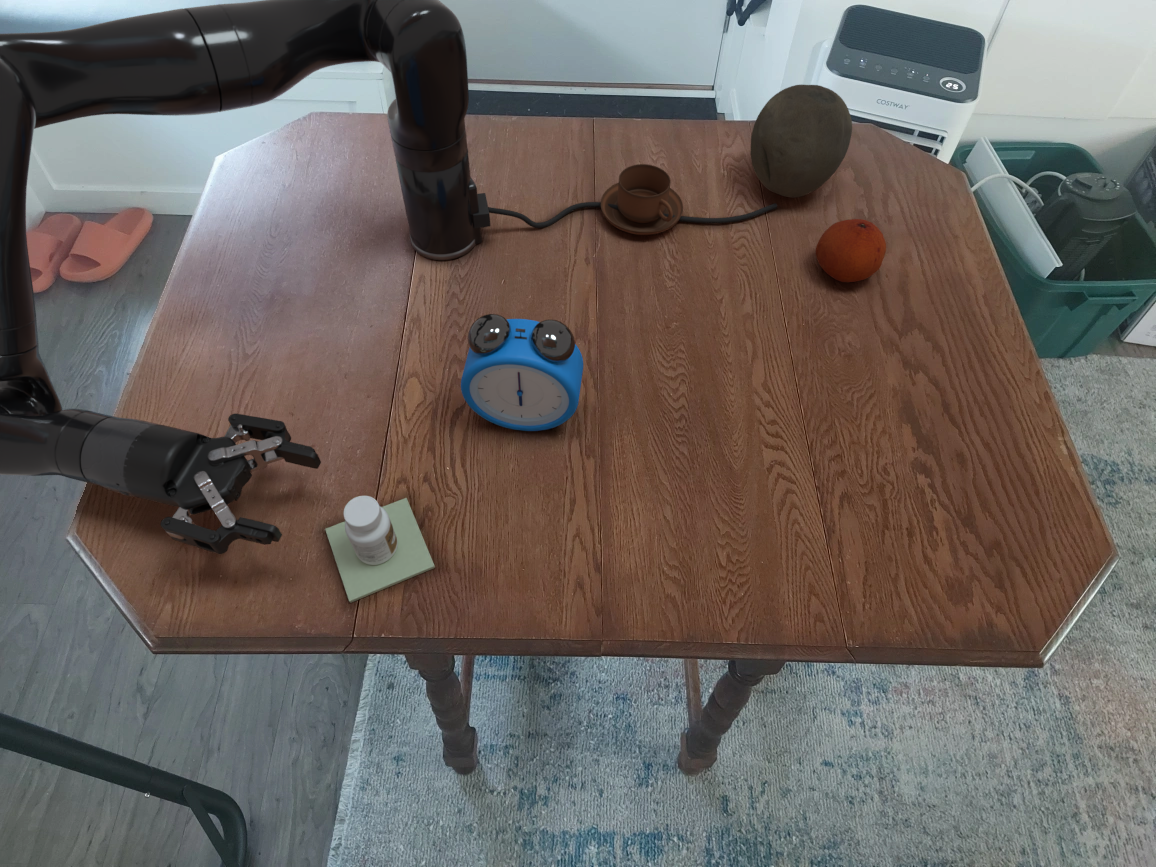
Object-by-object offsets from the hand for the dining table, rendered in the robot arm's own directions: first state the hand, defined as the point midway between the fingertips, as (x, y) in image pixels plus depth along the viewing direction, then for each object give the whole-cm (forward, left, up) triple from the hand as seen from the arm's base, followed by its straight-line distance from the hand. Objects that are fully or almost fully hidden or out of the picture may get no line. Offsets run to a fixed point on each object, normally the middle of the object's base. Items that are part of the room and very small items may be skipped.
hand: (298, 496), depth 73 cm
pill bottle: (-5, +4, -8) cm, 10 cm away
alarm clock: (-26, -6, -8) cm, 28 cm away
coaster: (-5, +4, -8) cm, 10 cm away
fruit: (-76, -10, -8) cm, 77 cm away
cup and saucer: (-56, -32, -8) cm, 65 cm away
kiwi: (-80, -29, -8) cm, 86 cm away
